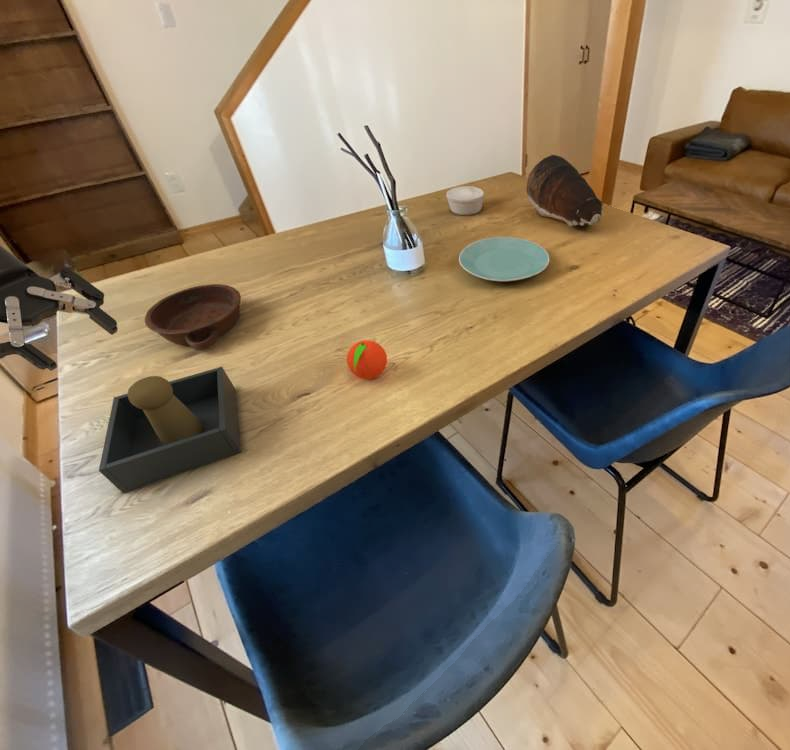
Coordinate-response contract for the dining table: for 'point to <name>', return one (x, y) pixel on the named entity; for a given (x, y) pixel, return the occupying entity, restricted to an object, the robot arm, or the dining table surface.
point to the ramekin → (465, 200)
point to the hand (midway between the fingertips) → (86, 348)
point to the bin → (156, 462)
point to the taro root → (562, 192)
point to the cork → (164, 410)
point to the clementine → (366, 359)
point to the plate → (504, 259)
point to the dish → (195, 315)
